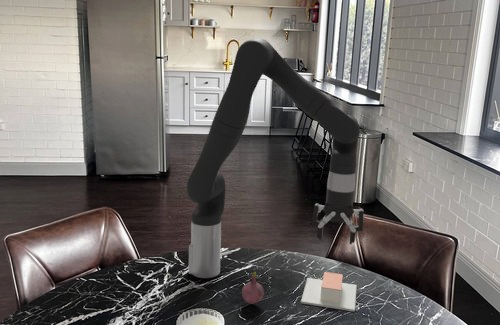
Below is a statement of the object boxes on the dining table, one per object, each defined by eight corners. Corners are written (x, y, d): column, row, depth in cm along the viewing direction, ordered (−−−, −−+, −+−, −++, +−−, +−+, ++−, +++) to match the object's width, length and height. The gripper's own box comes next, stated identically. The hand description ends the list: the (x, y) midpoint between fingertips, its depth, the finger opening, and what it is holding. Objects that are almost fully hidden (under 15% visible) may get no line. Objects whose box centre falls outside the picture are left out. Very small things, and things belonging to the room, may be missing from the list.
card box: (339, 302, 136) (340, 289, 135) (320, 299, 137) (321, 287, 136) (341, 286, 145) (342, 274, 144) (323, 283, 146) (324, 271, 145)
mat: (300, 303, 136) (300, 301, 136) (307, 279, 150) (307, 277, 150) (354, 311, 133) (354, 309, 132) (356, 286, 147) (356, 284, 147)
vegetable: (259, 312, 130) (260, 278, 128) (238, 307, 132) (239, 274, 130) (265, 301, 136) (267, 269, 134) (245, 297, 138) (246, 265, 136)
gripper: (313, 188, 132) (309, 242, 136) (366, 193, 129) (360, 250, 132) (316, 181, 139) (312, 233, 143) (366, 186, 136) (361, 239, 139)
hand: (335, 241), depth 138 cm, fingers open, 8 cm apart
